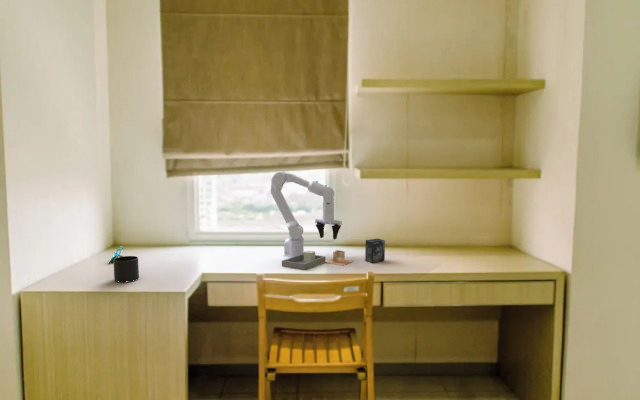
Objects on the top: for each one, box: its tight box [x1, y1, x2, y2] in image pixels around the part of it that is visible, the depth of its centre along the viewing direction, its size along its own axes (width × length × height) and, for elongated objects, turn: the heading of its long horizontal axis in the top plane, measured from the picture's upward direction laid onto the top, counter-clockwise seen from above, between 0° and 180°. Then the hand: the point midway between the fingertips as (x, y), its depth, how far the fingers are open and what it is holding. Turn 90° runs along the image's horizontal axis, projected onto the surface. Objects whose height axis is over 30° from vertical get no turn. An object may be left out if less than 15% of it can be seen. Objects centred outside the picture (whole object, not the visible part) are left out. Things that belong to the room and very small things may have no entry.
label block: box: [332, 249, 346, 263], centre depth 217 cm, size 4×4×5 cm
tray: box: [281, 253, 326, 271], centre depth 214 cm, size 13×18×3 cm
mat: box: [324, 258, 354, 267], centre depth 218 cm, size 10×10×1 cm
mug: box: [112, 255, 140, 283], centre depth 191 cm, size 9×12×9 cm
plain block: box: [304, 250, 316, 263], centre depth 218 cm, size 4×4×5 cm
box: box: [364, 238, 386, 264], centre depth 220 cm, size 8×6×11 cm
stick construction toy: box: [108, 246, 124, 264], centre depth 222 cm, size 12×7×8 cm
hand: (328, 238), depth 229 cm, fingers open, 7 cm apart
